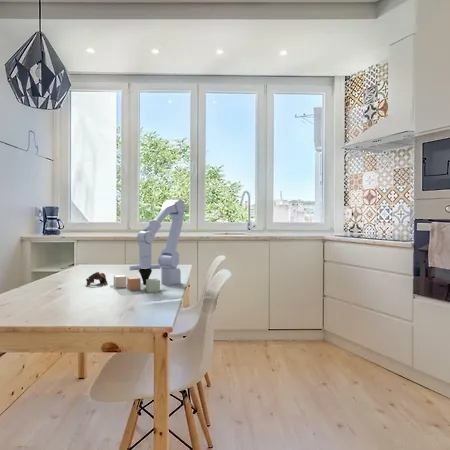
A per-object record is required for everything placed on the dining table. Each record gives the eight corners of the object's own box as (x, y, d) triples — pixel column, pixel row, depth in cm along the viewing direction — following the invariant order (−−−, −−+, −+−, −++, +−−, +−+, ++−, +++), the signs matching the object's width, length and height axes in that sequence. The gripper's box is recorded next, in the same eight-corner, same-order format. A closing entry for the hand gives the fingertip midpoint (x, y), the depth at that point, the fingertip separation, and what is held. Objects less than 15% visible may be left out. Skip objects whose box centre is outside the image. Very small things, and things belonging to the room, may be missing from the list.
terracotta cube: (137, 287, 180) (137, 276, 180) (140, 289, 176) (140, 278, 176) (127, 288, 178) (127, 277, 178) (129, 289, 173) (129, 279, 173)
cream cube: (124, 285, 186) (124, 274, 186) (126, 286, 182) (126, 276, 181) (113, 285, 184) (113, 275, 184) (115, 287, 179) (115, 277, 179)
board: (147, 284, 193) (147, 282, 193) (164, 293, 170) (164, 291, 170) (109, 287, 184) (109, 285, 184) (121, 297, 161) (121, 295, 161)
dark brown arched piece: (105, 289, 183) (96, 275, 181) (89, 297, 185) (80, 283, 183) (114, 279, 195) (105, 265, 193) (99, 286, 196) (90, 273, 194)
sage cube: (156, 289, 175) (156, 278, 175) (159, 291, 171) (160, 280, 171) (146, 290, 173) (146, 279, 173) (149, 292, 168) (149, 281, 168)
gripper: (132, 257, 172) (132, 287, 172) (162, 256, 179) (162, 284, 179) (128, 256, 178) (128, 284, 178) (158, 255, 185) (157, 282, 185)
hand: (145, 284), depth 179 cm, fingers closed
